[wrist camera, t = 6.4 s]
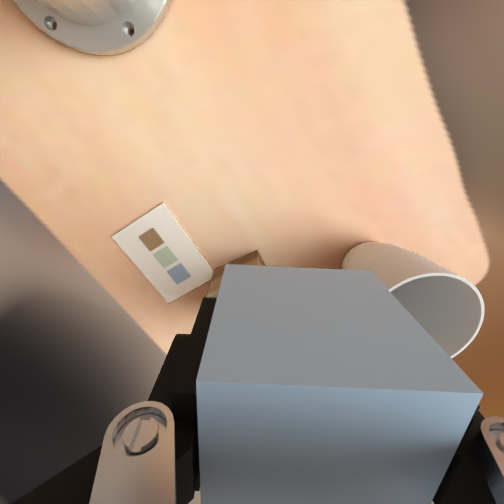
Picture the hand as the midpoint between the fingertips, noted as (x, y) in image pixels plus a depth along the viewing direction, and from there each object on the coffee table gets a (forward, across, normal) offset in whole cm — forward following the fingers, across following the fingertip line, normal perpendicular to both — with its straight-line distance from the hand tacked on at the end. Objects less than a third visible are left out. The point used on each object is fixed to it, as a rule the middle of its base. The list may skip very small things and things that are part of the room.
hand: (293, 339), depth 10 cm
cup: (+18, -10, +4) cm, 21 cm away
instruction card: (+18, +10, +5) cm, 21 cm away
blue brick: (+1, 0, 0) cm, 1 cm away
